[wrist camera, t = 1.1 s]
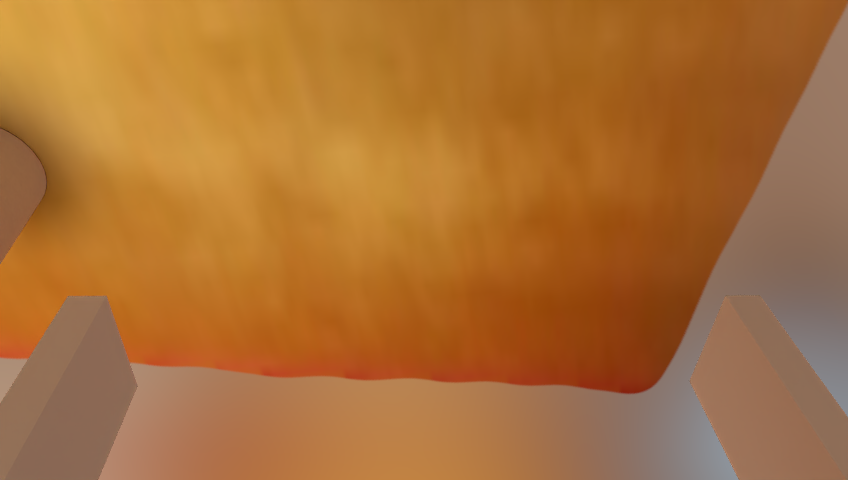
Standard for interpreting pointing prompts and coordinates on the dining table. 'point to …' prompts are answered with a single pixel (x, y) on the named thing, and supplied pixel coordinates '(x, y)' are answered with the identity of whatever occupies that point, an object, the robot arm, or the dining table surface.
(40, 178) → the coffee cup
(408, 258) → the dining table surface
